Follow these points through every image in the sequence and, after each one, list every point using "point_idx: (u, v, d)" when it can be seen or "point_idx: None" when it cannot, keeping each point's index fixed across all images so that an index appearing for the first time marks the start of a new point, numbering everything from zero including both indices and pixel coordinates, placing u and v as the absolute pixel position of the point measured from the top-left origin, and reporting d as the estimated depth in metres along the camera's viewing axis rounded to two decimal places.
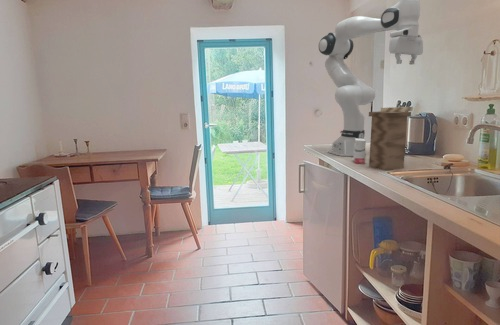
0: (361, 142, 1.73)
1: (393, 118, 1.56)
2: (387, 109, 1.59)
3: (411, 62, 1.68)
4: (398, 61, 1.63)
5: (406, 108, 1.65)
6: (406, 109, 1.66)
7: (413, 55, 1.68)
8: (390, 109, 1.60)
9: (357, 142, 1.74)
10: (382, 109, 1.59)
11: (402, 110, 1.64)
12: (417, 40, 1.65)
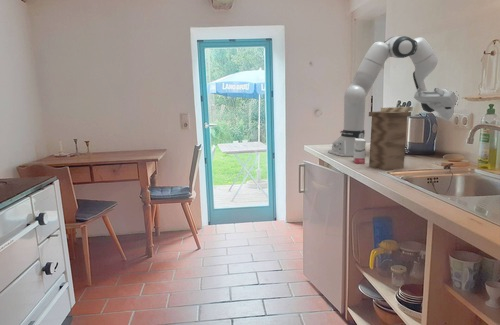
0: (361, 142, 1.73)
1: (393, 118, 1.56)
2: (387, 109, 1.59)
3: (420, 90, 1.82)
4: (437, 90, 1.74)
5: (406, 108, 1.65)
6: (406, 109, 1.66)
7: (421, 93, 1.85)
8: (390, 109, 1.60)
9: (357, 142, 1.74)
10: (382, 109, 1.59)
11: (402, 110, 1.64)
12: (427, 102, 1.88)
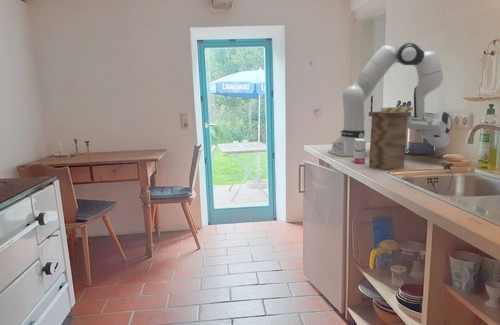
0: (361, 142, 1.73)
1: (393, 118, 1.56)
2: (387, 109, 1.59)
3: (408, 117, 1.75)
4: (426, 118, 1.67)
5: (406, 108, 1.65)
6: (406, 109, 1.66)
7: (409, 120, 1.78)
8: (390, 109, 1.60)
9: (357, 142, 1.74)
10: (382, 109, 1.59)
11: (402, 110, 1.64)
12: (415, 129, 1.81)
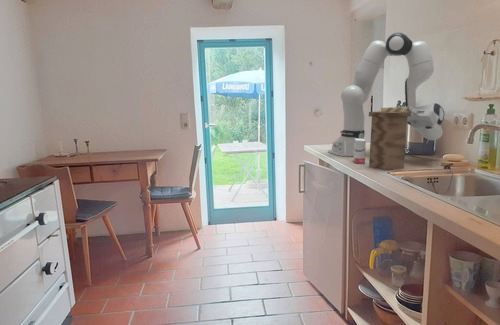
0: (361, 142, 1.73)
1: (393, 118, 1.56)
2: (387, 109, 1.59)
3: None
4: (411, 109, 1.65)
5: (406, 108, 1.65)
6: (406, 109, 1.66)
7: None
8: (390, 109, 1.60)
9: (357, 142, 1.74)
10: (382, 109, 1.59)
11: (402, 110, 1.64)
12: (407, 121, 1.76)
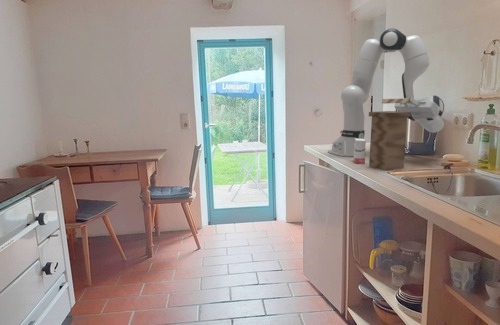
0: (361, 142, 1.73)
1: (393, 118, 1.56)
2: (388, 100, 1.58)
3: None
4: (412, 100, 1.64)
5: (407, 99, 1.65)
6: (407, 101, 1.65)
7: (407, 103, 1.70)
8: (391, 100, 1.59)
9: (357, 142, 1.74)
10: (383, 100, 1.58)
11: (403, 101, 1.63)
12: None
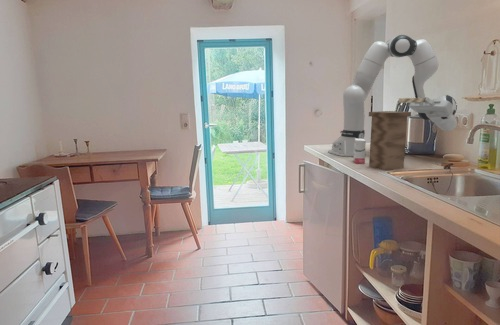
0: (361, 142, 1.73)
1: (393, 118, 1.56)
2: (405, 100, 1.64)
3: None
4: (427, 100, 1.70)
5: (422, 99, 1.70)
6: (423, 100, 1.70)
7: (422, 103, 1.75)
8: (407, 100, 1.65)
9: (357, 142, 1.74)
10: (400, 100, 1.64)
11: (419, 101, 1.69)
12: (422, 112, 1.81)
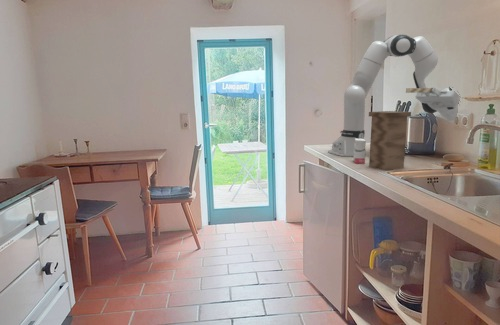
0: (361, 142, 1.73)
1: (393, 118, 1.56)
2: (412, 89, 1.67)
3: None
4: (434, 90, 1.73)
5: (429, 89, 1.73)
6: (429, 91, 1.73)
7: (428, 93, 1.78)
8: (415, 90, 1.68)
9: (357, 142, 1.74)
10: (407, 89, 1.67)
11: (425, 91, 1.72)
12: (428, 102, 1.84)
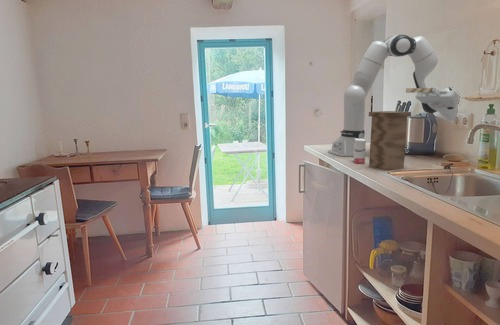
0: (361, 142, 1.73)
1: (393, 118, 1.56)
2: (412, 89, 1.67)
3: None
4: (434, 90, 1.73)
5: (429, 89, 1.73)
6: (429, 91, 1.74)
7: (428, 93, 1.78)
8: (415, 90, 1.68)
9: (357, 142, 1.74)
10: (407, 89, 1.67)
11: (425, 91, 1.72)
12: (428, 102, 1.84)
